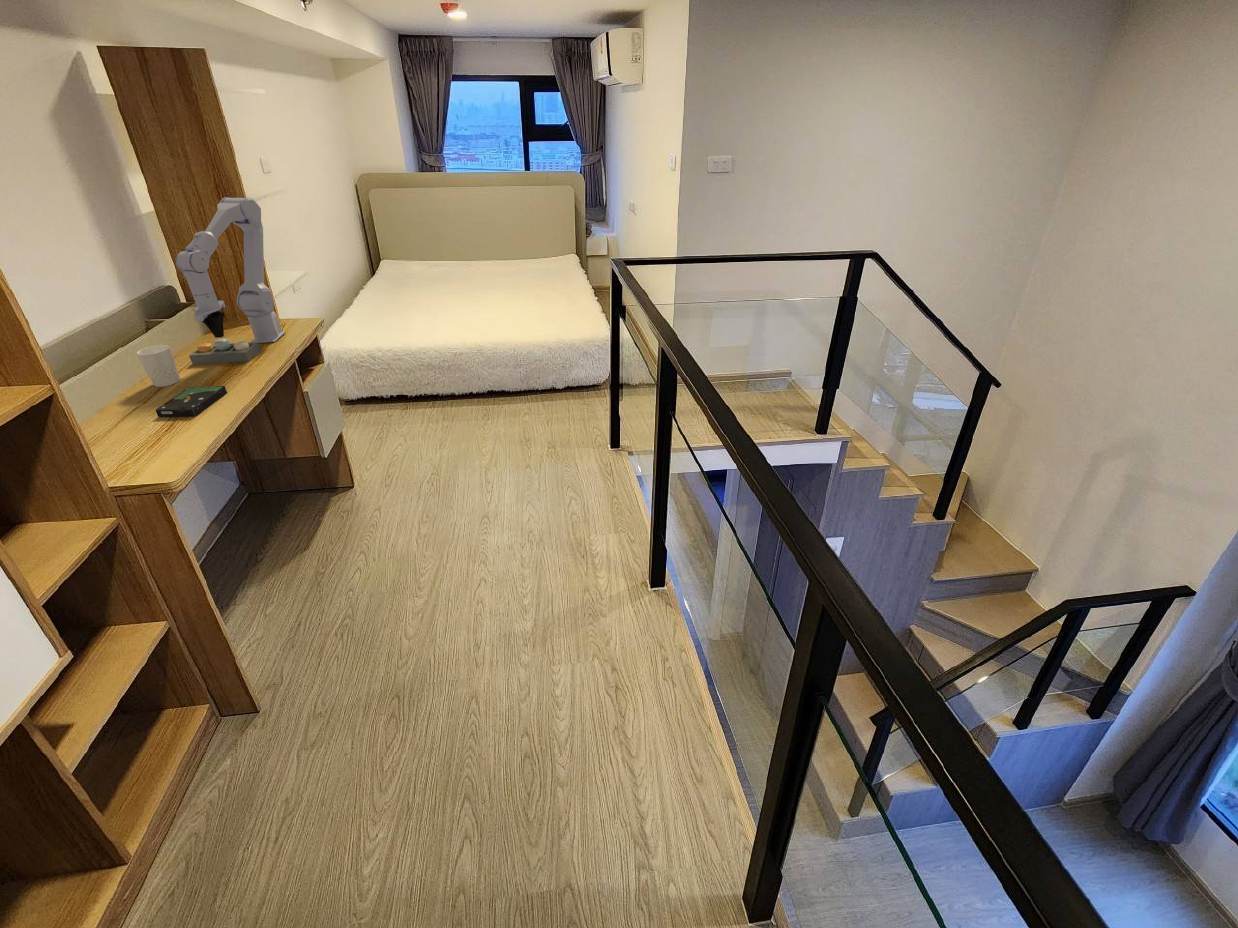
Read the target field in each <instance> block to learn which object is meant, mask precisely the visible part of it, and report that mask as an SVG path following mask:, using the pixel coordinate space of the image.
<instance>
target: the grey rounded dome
mask: <svg viewBox="0 0 1238 928" xmlns="http://www.w3.org/2000/svg"><path fill="white" fill-rule="evenodd" d="M213 344H215V346H216V349H217V351H225V350H228V349H230V348H231V345H230V344H231V343H230V339H229V338H219V339H216V340H214V341H213Z"/></svg>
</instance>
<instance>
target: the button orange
mask: <svg viewBox="0 0 1238 928" xmlns="http://www.w3.org/2000/svg"><path fill="white" fill-rule="evenodd" d="M212 345H213V344H212V343H210V342H205V343H200V344H199V345H197V349H198V350H199V353H200V352H211V351H212V350H214V348H213V346H212Z"/></svg>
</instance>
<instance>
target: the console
mask: <svg viewBox="0 0 1238 928" xmlns="http://www.w3.org/2000/svg"><path fill="white" fill-rule="evenodd" d="M235 343H236V342H235ZM235 343H230V345H231V348H230V349H228V350H225V351H217V349H216V346H215V343H213V344H212V346H213V348H214V350H212V351H211V352H200V353H199V350H198V348H197V349H196V350H195V351H193V352H191V353H190V354H189V355H188V356H189V359H190V361H191V363H192V365H194V366H195V365H208V364H209V365H211V363H212V364H227V363H230V362H231V363H247V362H250V361H251V360H252V359H254V358H255V357H256V356H257V355H259V354H260V353H261V351H262V350H261V347H260V343H258V342H251V341H250V342H248V344H249V347H250V348H249V349H247V350H237V351H236V350H235V347H234V344H235ZM231 363H230V364H231Z"/></svg>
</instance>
